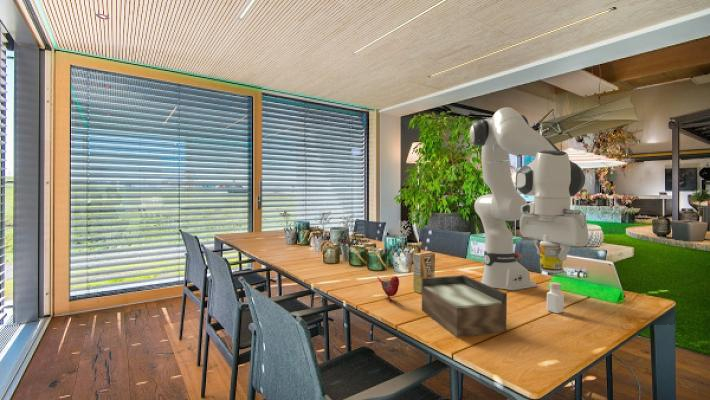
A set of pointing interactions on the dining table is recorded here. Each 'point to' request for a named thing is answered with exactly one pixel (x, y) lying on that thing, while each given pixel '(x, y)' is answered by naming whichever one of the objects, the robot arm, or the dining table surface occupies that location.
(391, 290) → the decorative bird figurine
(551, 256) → the supplement bottle
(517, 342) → the dining table surface
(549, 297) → the white bottle
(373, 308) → the dining table surface
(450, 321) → the open wooden crate
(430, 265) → the candy box
